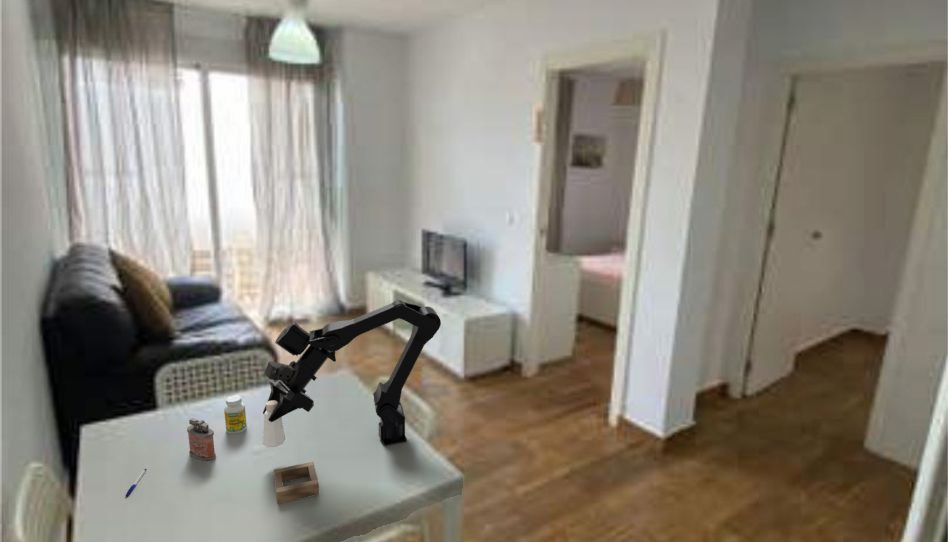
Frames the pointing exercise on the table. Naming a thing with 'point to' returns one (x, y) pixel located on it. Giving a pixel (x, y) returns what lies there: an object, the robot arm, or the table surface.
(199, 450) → the lighter
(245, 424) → the supplement bottle
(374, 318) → the robot arm
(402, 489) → the table surface
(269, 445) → the pepper shaker
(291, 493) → the socket block
